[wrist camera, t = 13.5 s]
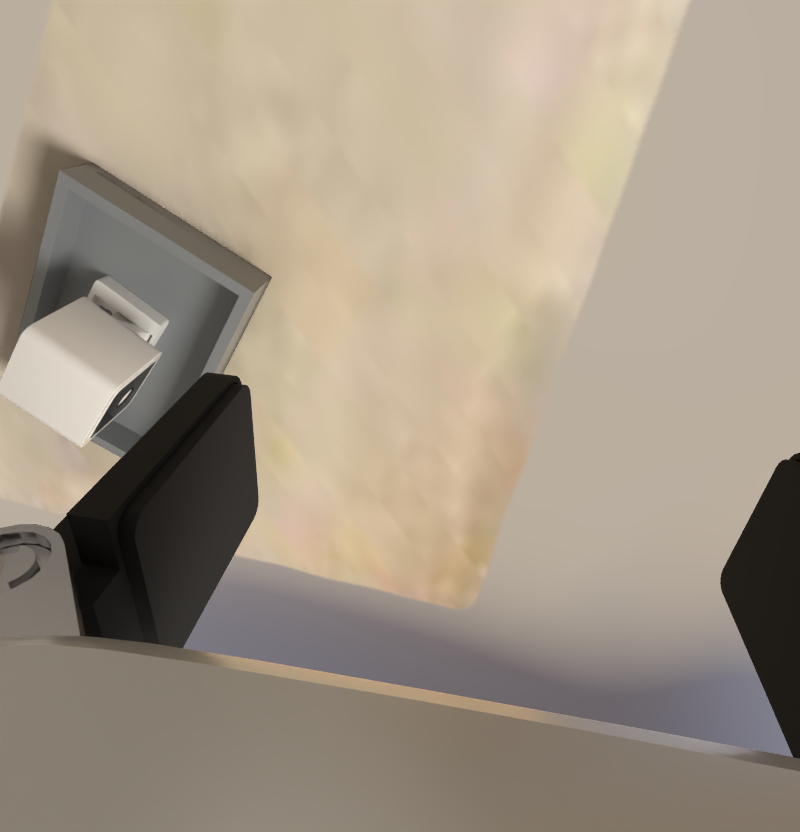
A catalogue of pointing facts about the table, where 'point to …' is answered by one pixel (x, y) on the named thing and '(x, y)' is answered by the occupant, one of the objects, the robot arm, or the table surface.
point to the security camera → (84, 361)
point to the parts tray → (144, 285)
